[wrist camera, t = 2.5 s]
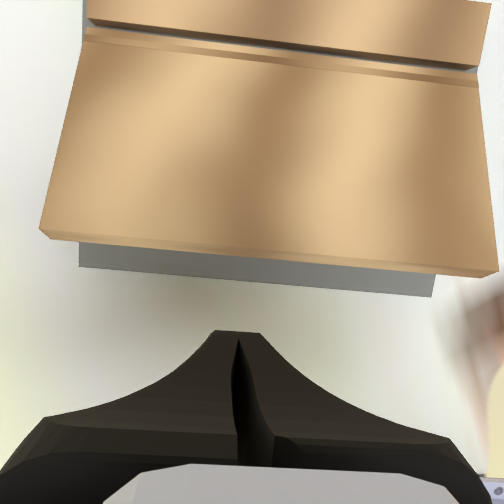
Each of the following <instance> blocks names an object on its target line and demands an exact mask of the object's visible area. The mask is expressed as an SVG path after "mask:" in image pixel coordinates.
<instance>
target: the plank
mask: <svg viewBox="0 0 504 504" xmlns="http://www.w3.org/2000/svg"><path fill="white" fill-rule="evenodd" d="M478 88H479V86H478V80H477V74H473V73H464V72H456V71H448V70H439V69H431V68H423V67H415V66H406V65H398V64H390V63H382V62H373V61H365V60H357V59H349V58H340V57H332V56H324V55H316V54H307V53H299V52H291V51H283V50H274V49H266V48H258V47H250V46H241V45H233V44H225V43H217V42H208V41H200V40H192V39H184V38H175V37H167V36H159V35H151V34H142V33H134V32H126V31H117V30H109V29H101V28H93V27H87V28H86V32H85V35H84V39H83V45H82V49H81V53H80V57H79V62H78V66H77V70H76V74H75V78H74V82H73V87H72V91H71V95H70V99H69V103H68V108H67V112H66V116H65V120H64V124H63V129H62V133H61V137H60V141H59V145H58V149H57V154H56V158H55V162H54V166H53V170H52V175H51V179H50V183H49V187H48V191H47V196H46V200H45V204H44V208H43V212H42V217H41V221H40V225H39V229H40V230H41V231H42V232H43V233H44V234H45V235H46V236H48V237H49V238H50V239H55V240H66V241H77V242H88V243H99V244H110V245H121V246H132V247H143V248H154V249H165V250H176V251H187V252H198V253H209V254H220V255H231V256H242V257H253V258H264V259H275V260H285V261H296V262H307V263H318V264H329V265H340V266H351V267H362V268H373V269H384V270H395V271H406V272H417V273H428V274H439V275H450V276H461V277H472V278H483V277H486V276H488V275H491V274H493V273H496V272H498V271H499V265H498V256H497V248H496V239H495V230H494V221H493V212H492V203H491V195H490V186H489V177H488V168H487V159H486V150H485V142H484V133H483V124H482V115H481V106H480V97H479V89H478Z"/></svg>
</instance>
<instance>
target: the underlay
mask: <svg viewBox="0 0 504 504" xmlns="http://www.w3.org/2000/svg"><path fill="white" fill-rule="evenodd" d="M87 27H93V28H101V29H109V30H117V31H126V32H134V33H142V34H151V35H159V36H167V37H175V38H184V39H192V40H200V41H208V42H217V43H225V44H233V45H241V46H250V47H258V48H266V49H274V50H283V51H291V52H299V53H307V54H316V55H324V56H332V57H340V58H349V59H357V60H365V61H373V62H382V63H390V64H398V65H406V66H415V67H423V68H431V69H439V70H448V71H456V72H464V73H473V74H477V70H478V66H477V67H474V68H472V69H469V70H466V71H462V70H454V69H446V68H438V67H429V66H421V65H413V64H405V63H396V62H388V61H380V60H372V59H363V58H355V57H347V56H339V55H330V54H322V53H314V52H306V51H297V50H289V49H281V48H273V47H265V46H256V45H248V44H240V43H232V42H223V41H215V40H207V39H199V38H190V37H182V36H174V35H166V34H157V33H149V32H141V31H133V30H124V29H116V28H108V27H100V26H95V25H94V24H93V23H92V22H91V21H90V20H89V19H88V18H87V0H83V20H82V45H83V39H84V35H85V32H86V28H87ZM79 267H89V268H101V269H112V270H124V271H135V272H146V273H158V274H169V275H181V276H192V277H204V278H215V279H226V280H238V281H249V282H261V283H272V284H284V285H295V286H306V287H318V288H329V289H341V290H352V291H364V292H375V293H387V294H398V295H409V296H421V297H431V296H432V291H433V286H434V281H435V276H436V274H428V273H417V272H406V271H395V270H384V269H373V268H362V267H351V266H340V265H329V264H318V263H307V262H296V261H285V260H275V259H264V258H253V257H242V256H231V255H220V254H209V253H198V252H187V251H176V250H165V249H154V248H143V247H132V246H121V245H110V244H99V243H88V242H79Z"/></svg>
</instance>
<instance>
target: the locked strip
mask: <svg viewBox="0 0 504 504" xmlns="http://www.w3.org/2000/svg"><path fill="white" fill-rule="evenodd" d="M490 9H491V3H484V2H476V1H468V0H87V18H88V19H89V20H90V21H91V22H92V23H93V24H94V25H95V26H100V27H108V28H116V29H124V30H133V31H141V32H149V33H157V34H166V35H174V36H182V37H190V38H199V39H207V40H215V41H223V42H232V43H240V44H248V45H256V46H265V47H273V48H281V49H289V50H297V51H306V52H314V53H322V54H330V55H339V56H347V57H355V58H363V59H372V60H380V61H388V62H396V63H405V64H413V65H421V66H429V67H438V68H446V69H454V70H462V71H466V70H469V69H472V68H474V67H477V66H479V63H480V58H481V53H482V48H483V44H484V39H485V34H486V29H487V24H488V19H489V14H490Z"/></svg>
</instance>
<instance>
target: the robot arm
mask: <svg viewBox="0 0 504 504" xmlns="http://www.w3.org/2000/svg"><path fill="white" fill-rule="evenodd" d="M497 487H498V488H497ZM495 488H497V489H495ZM0 504H504V479H502V478H486V477H479V476H478V475H477V474H476V472H475V471H474V470H473V468H472V467H471V466H470V464H469V463H468V462H467V460H466V459H465V458H464V457H463V455H462V454H461V453H460V451H459V450H458V449H457V447H456V446H455V445H454V444H453V442H452V441H451V440H450V439H449V438H446V437H443V436H439V435H435V434H432V433H428V432H425V431H421V430H417V429H414V428H410V427H406V426H403V425H400V424H397V423H395V422H392V421H389V420H386V419H384V418H381V417H378V416H376V415H373V414H371V413H369V412H366V411H364V410H362V409H359V408H357V407H355V406H353V405H351V404H349V403H347V402H345V401H343V400H341V399H339V398H338V397H336V396H334V395H332V394H331V393H329V392H327V391H326V390H324V389H323V388H321V387H320V386H318V385H316V384H315V383H313V382H312V381H311V380H309V379H308V378H307V377H305V376H304V375H303V374H302V373H300V372H299V371H298V370H297V369H295V368H294V367H293V366H292V365H291V364H290V363H289V362H287V361H286V360H285V359H284V358H283V357H282V356H281V355H280V354H279V353H278V352H277V351H276V350H275V349H274V348H273V347H272V346H271V345H270V343H269V342H268V341H267V340H266V339H265V338H264V337H263V336H262V335H261V334H260V333H252V332H237V331H221V330H215V331H213V332H212V333H211V334H210V336H209V337H208V338H207V340H206V341H205V342H204V343H203V344H202V345H201V347H200V348H199V349H198V350H197V351H196V352H195V353H194V354H193V355H192V356H191V357H190V358H189V359H187V360H186V361H185V362H184V363H183V364H182V365H180V366H179V367H178V368H177V369H176V370H174V371H173V372H171V373H170V374H169V375H167V376H165V377H164V378H162V379H160V380H159V381H157V382H155V383H153V384H151V385H149V386H147V387H145V388H143V389H141V390H139V391H137V392H134V393H132V394H130V395H128V396H125V397H123V398H120V399H117V400H114V401H111V402H108V403H105V404H102V405H99V406H95V407H91V408H88V409H83V410H79V411H74V412H69V413H64V414H60V415H55V416H49V417H44V418H43V419H42V420H41V421H40V422H39V423H38V425H37V426H36V427H35V428H34V429H33V430H32V431H31V432H30V433H29V434H28V436H27V437H26V438H25V439H24V440H23V441H22V443H21V444H20V445H19V446H18V448H17V449H16V450H15V451H14V453H13V454H12V455H11V457H10V458H9V459H8V461H7V462H6V463H5V465H4V466H3V467H2V469H1V470H0Z"/></svg>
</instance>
